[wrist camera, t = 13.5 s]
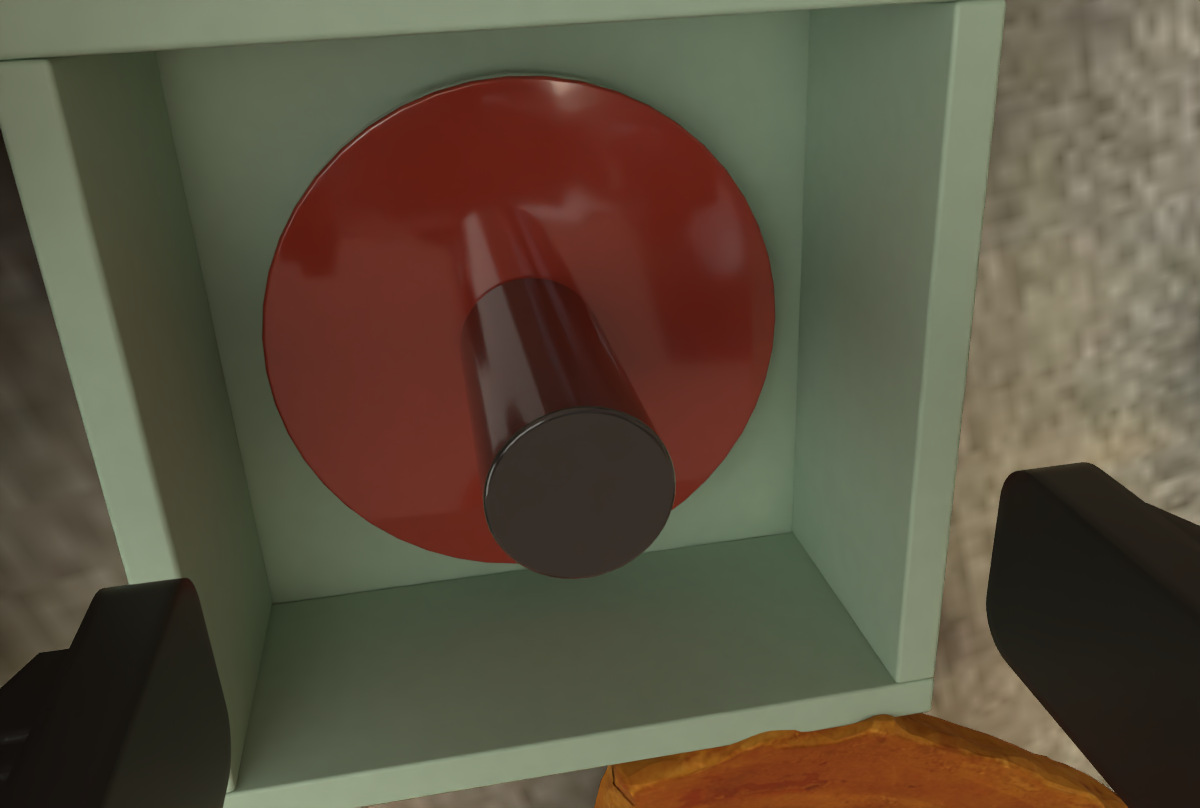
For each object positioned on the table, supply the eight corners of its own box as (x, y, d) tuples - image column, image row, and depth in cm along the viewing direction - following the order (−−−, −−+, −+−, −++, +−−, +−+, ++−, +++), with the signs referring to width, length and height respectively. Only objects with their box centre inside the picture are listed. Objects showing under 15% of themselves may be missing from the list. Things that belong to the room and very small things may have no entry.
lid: (222, 88, 16) (118, 165, 10) (760, 51, 17) (951, 100, 11) (314, 563, 20) (276, 827, 14) (753, 504, 21) (895, 722, 15)
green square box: (101, -20, 16) (-42, -9, 11) (837, -59, 17) (1015, -65, 12) (247, 620, 21) (197, 837, 15) (811, 540, 22) (931, 712, 17)
